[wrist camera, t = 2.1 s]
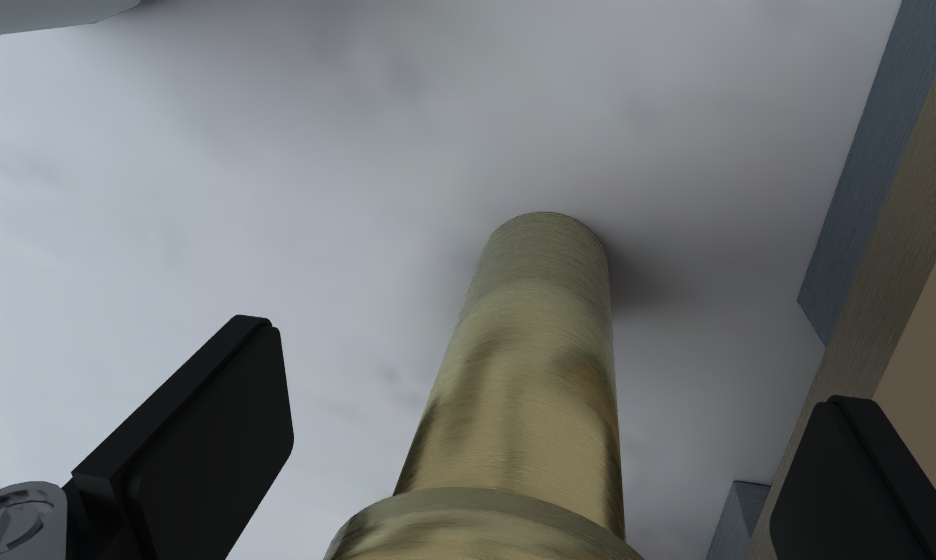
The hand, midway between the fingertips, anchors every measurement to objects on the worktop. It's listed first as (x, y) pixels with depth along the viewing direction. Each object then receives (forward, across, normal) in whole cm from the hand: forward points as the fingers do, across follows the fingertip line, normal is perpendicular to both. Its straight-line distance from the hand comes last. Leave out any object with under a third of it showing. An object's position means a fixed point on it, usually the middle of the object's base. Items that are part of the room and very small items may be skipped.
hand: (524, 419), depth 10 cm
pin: (+5, 0, 0) cm, 5 cm away
